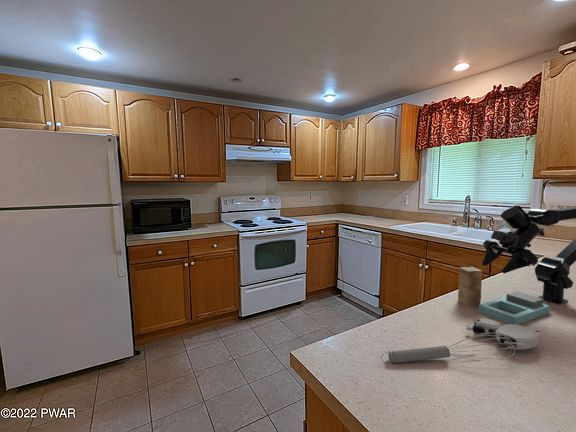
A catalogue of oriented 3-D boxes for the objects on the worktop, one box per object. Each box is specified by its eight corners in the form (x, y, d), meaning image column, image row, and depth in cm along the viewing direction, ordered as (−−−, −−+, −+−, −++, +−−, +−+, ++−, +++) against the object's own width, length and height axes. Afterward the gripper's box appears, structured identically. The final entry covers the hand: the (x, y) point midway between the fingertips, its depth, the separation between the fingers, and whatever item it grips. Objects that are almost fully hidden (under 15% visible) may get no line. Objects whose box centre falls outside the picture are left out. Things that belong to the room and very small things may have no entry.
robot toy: (463, 337, 83) (525, 360, 70) (462, 322, 83) (525, 342, 70) (485, 326, 89) (546, 345, 76) (484, 312, 89) (545, 329, 76)
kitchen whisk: (376, 355, 73) (377, 332, 73) (500, 350, 75) (502, 328, 74) (386, 371, 67) (386, 346, 66) (521, 365, 69) (523, 340, 68)
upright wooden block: (470, 300, 107) (472, 266, 105) (480, 305, 102) (482, 270, 100) (458, 300, 106) (459, 267, 105) (466, 306, 102) (468, 271, 100)
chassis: (512, 301, 105) (513, 289, 105) (549, 312, 95) (550, 300, 95) (478, 311, 97) (479, 299, 97) (514, 325, 87) (515, 311, 87)
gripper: (487, 219, 110) (460, 249, 111) (531, 226, 92) (498, 261, 92) (506, 237, 112) (479, 266, 112) (553, 248, 93) (520, 282, 94)
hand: (492, 268), depth 103 cm, fingers open, 9 cm apart
